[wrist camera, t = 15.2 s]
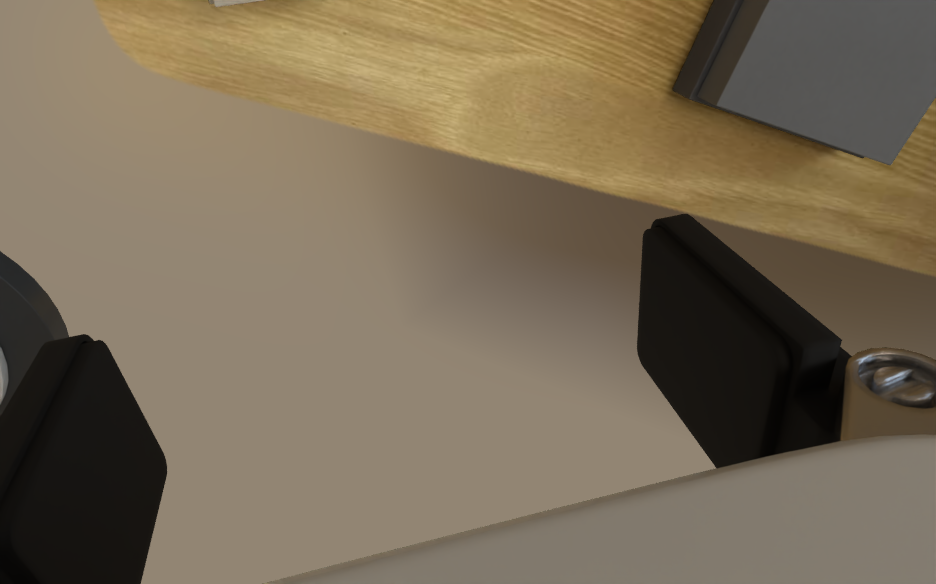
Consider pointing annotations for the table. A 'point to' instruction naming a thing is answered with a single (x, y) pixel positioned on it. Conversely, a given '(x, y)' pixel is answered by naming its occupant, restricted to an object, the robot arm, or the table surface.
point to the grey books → (819, 69)
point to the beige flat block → (231, 2)
